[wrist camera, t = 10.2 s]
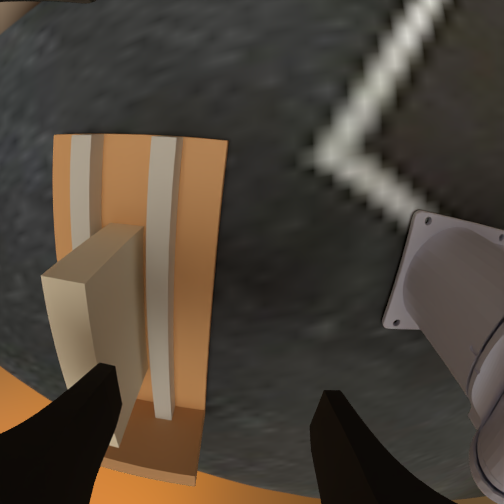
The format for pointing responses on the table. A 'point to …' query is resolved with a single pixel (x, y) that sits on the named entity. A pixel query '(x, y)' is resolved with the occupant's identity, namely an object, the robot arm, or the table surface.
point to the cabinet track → (154, 274)
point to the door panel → (101, 311)
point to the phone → (76, 0)
